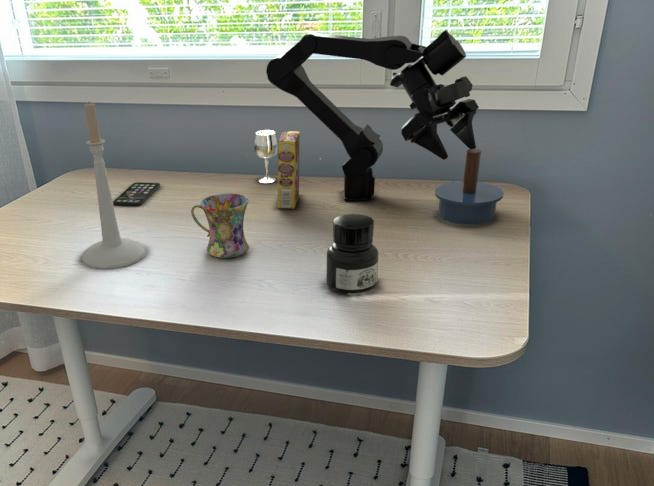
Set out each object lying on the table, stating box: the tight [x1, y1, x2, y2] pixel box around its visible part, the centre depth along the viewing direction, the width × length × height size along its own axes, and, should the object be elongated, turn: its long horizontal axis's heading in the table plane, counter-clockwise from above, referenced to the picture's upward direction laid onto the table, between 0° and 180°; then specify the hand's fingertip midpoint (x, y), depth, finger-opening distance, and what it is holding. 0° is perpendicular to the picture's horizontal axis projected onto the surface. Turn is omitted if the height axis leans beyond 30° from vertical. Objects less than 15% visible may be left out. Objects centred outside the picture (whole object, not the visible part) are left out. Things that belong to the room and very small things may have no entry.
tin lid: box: [434, 148, 505, 206], centre depth 141 cm, size 14×14×10 cm
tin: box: [437, 199, 498, 226], centre depth 145 cm, size 11×12×5 cm
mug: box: [190, 192, 250, 259], centre depth 135 cm, size 12×9×11 cm
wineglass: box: [253, 129, 278, 184], centre depth 172 cm, size 6×6×12 cm
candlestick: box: [81, 101, 146, 270], centre depth 131 cm, size 13×13×30 cm
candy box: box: [277, 130, 301, 210], centre depth 156 cm, size 9×4×15 cm, turn 169°
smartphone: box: [112, 181, 161, 206], centre depth 170 cm, size 7×1×15 cm
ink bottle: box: [325, 213, 379, 295], centre depth 119 cm, size 10×9×12 cm
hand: (460, 153), depth 141 cm, fingers open, 9 cm apart
